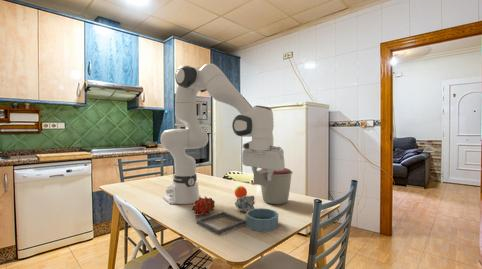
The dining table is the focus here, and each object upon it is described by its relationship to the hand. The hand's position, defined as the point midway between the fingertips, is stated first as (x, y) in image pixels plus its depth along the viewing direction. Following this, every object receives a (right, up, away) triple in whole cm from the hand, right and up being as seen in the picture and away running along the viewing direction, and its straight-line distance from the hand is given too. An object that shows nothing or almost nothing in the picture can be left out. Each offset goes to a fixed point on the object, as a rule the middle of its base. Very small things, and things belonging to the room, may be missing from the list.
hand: (262, 178), depth 99 cm
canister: (+10, -18, +31) cm, 37 cm away
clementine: (-9, -18, +36) cm, 41 cm away
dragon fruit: (-26, -19, +12) cm, 34 cm away
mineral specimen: (-7, -19, +19) cm, 27 cm away
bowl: (0, -19, +1) cm, 19 cm away
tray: (-17, -19, +1) cm, 25 cm away
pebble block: (0, -2, 0) cm, 2 cm away
